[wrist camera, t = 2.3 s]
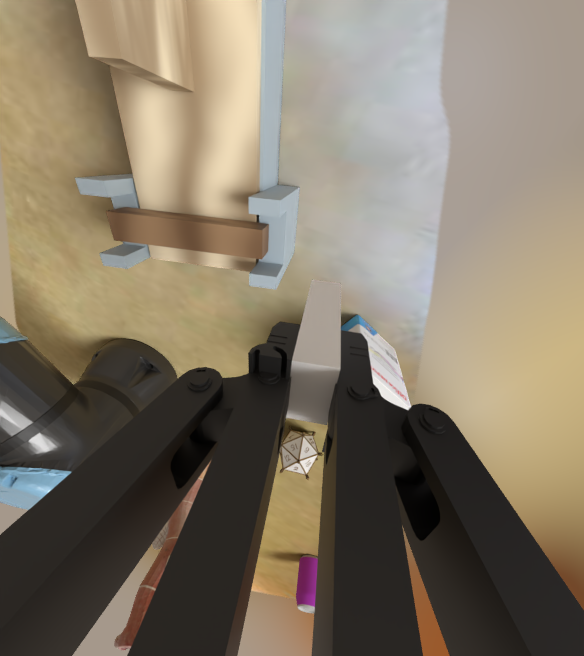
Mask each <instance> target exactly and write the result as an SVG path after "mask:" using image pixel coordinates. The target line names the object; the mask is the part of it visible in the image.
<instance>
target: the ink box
mask: <svg viewBox="0 0 584 656" xmlns="http://www.w3.org/2000/svg"><path fill="white" fill-rule="evenodd" d="M341 330H343V331H350V332H356V333H362V335H363V336H364V337H365V339H366V340H367V342H368V349H369V350H368V351H369V358H370V363H371V370H372V378H373V384H374V385H375V386H376V387H377V388H378V389H379V392H380V394H381V396H382V397H383V398H384V399H386V400H387V401H389V402H391V403H393V404H395V405H397V406H399V407H402V408H404V409H406V410H408V409H409V408H411V405H410V402H409V398H408V394H407V391H406V387H405V384H404V380H403V377H402V373H401V369H400V366H399V363H398V359H397V355H396V352H395V349H394V348H393V347H392V346H391V345H390V344H389V343H387V342H386V341H385V340H384V339H383V338H382V337H381V336H380V335H379V334H378V333H377V332H376V331H375V330H374V329H373V328H372V327H371V326H370V325H369V324H368V323H367V322H365V321H364V320H363V319H362V318H361V317H360V316H359V315H356V316H354V317H353V318H352V319H350V320H349V321H348V322H346V323H345V324H344V325H342V326H341Z"/></svg>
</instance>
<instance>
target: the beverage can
mask: <svg viewBox="0 0 584 656" xmlns="http://www.w3.org/2000/svg"><path fill="white" fill-rule="evenodd" d="M317 564H318V557H316V556H314V555H303V556H302V557H301V558H300V562H299V573H298V583H297V593H296V599H297V606H298V609H300V610H301V611H304V612H308V613H314V612H315V596H316V580H317Z"/></svg>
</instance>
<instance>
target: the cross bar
mask: <svg viewBox="0 0 584 656" xmlns="http://www.w3.org/2000/svg"><path fill="white" fill-rule="evenodd" d="M106 213H107V217H108V220H109V224H110V227H111V231H112V234H113V238H114V240H116V241H124V242H131V243H139V244H147V245H154V246H162V247H170V248H177V249H185V250H193V251H200V252H208V253H216V254H223V255H231V256H239V257H246V258H254V259H263V257H264V256H265V255H266V253H267V252H268V242H269V224H265V223H257V222H248V221H240V220H231V219H223V218H214V217H206V216H198V215H189V214H181V213H172V212H164V211H156V210H147V209H139V208H130V207H123V208H118V209H114V210H109V211H106Z"/></svg>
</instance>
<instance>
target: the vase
mask: <svg viewBox="0 0 584 656" xmlns="http://www.w3.org/2000/svg"><path fill="white" fill-rule="evenodd" d="M210 462H211V461H210ZM209 464H210V463H209ZM209 464H208V465H207V467H206V468H205V470H204V471H203V472H202V474H201V475H200V477H199V478H198V479H197V481H196V482H195V484H194V485H193V486H192V488H191V489H190V491H189V492H188V493H187V495H186V496H185V498H184V499H183V500H182V502H181V503H180V505H179V506H178V507H177V509H176V510H175V512H174V513H173V514H172V516H171V517H170V519H169V520H168V522H167V523H166V524H165V526H164V527H163V529H162V530H161V531H160V533H159V534H158V536H157V537H156V538H155V540H154V541H153V543H152V545H153V548H154V549H160V548H161V547H162V549H161V551H160V553H159V554H158V556H157V558H156V560H155V561H154V563H153V565H152V567H151V568H150V570H149V572H148V573H147V575H146V577H145V578H144V580H143V581H142V583H141V585H140V587H139V590H138V592H137V595H136V597H135V601H134V604H133V608H132V611H131V614H130V617H129V620H128V623H127V626H126V628H125V629H124V631H123V632H122V633H121V634H120V635H119V636H117V638H116V639H115V643H114V645H115V647H116V648H118V649H120V650H125V649H128V648H131V646H132V644H133V641H134V639H135V637H136V634H137V632H138V630H139V627H140V625H141V623H142V620H143V618H144V616H145V613H146V611H147V609H148V606H149V604H150V602H151V599H152V597H153V595H154V592H155V590H156V588H157V585H158V583H159V581H160V578H161V576H162V574H163V571H164V569H165V567H166V564H167V562H168V560H169V557H170V555H171V553H172V551H173V548H174V546H175V544H176V541H177V539H178V537H179V534H180V532H181V530H182V527H183V525H184V523H185V520H186V518H187V516H188V513H189V511H190V509H191V506H192V504H193V502H194V499H195V497H196V495H197V492H198V490H199V488H200V485H201V483H202V481H203V478H204V476H205V474H206V471H207V469H208V467H209Z"/></svg>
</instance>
